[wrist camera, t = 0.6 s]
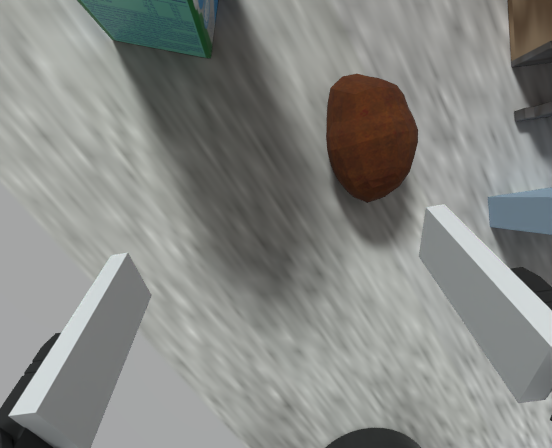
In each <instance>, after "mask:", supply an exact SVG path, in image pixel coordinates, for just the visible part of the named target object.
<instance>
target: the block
mask: <svg viewBox="0 0 552 448" xmlns="http://www.w3.org/2000/svg"><path fill="white" fill-rule="evenodd" d="M488 205H489V220H490V227H495V228H503V229H510V230H518V231H526V232H534V233H542V234H550V235H552V188H545V189H538V190H532V191H525V192H518V193H512V194H505V195H498V196H492V197H488Z"/></svg>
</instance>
